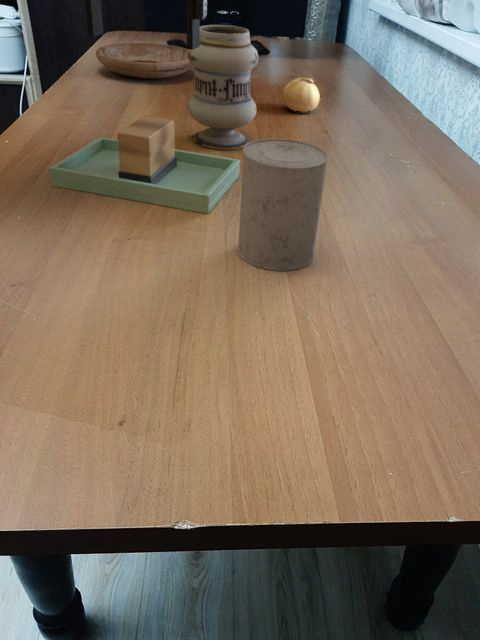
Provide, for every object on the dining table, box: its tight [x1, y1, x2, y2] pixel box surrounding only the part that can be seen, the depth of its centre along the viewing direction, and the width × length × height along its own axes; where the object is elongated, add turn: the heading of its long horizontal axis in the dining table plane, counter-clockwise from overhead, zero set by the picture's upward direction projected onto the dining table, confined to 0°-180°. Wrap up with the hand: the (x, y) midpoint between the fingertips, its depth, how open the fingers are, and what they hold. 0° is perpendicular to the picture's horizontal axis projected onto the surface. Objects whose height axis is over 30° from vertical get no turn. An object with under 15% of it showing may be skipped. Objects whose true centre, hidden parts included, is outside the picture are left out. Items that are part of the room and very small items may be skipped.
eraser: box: [116, 114, 177, 184], centre depth 83 cm, size 10×5×7 cm, turn 166°
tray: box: [48, 136, 241, 214], centre depth 85 cm, size 24×16×3 cm, turn 76°
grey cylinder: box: [236, 138, 330, 272], centre depth 67 cm, size 10×10×12 cm
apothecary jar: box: [187, 24, 260, 151], centre depth 98 cm, size 12×12×18 cm
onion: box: [281, 76, 321, 113], centre depth 121 cm, size 8×8×7 cm
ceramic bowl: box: [95, 42, 194, 79], centre depth 138 cm, size 23×24×5 cm
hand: (143, 41), depth 74 cm, fingers open, 13 cm apart
